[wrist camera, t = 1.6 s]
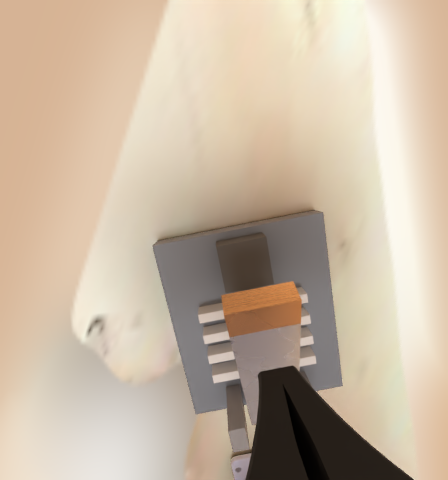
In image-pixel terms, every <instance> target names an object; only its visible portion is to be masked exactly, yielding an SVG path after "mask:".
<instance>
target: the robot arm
mask: <svg viewBox="0 0 448 480" xmlns="http://www.w3.org/2000/svg"><path fill="white" fill-rule="evenodd" d="M258 381H259V401H258V412H257V422H256V429H255V435H254V441H253V447H252V452H251V453H249V454H244V455H239V456H235V457H233V458H232V459H231V467H232V471H233V475H234V480H414V479H412V478H411V477H410V476H409V475H407V474H406V473H405V472H403V471H402V470H401V469H400V468H398V467H397V466H396V465H394V464H393V463H392V462H391V461H389V460H388V459H387V458H386V457H385V456H383V455H382V454H381V453H380V452H379V451H377V450H376V449H375V448H374V447H373V446H371V445H370V444H369V443H368V442H367V441H366V440H365V439H363V438H362V437H361V436H360V435H359V434H358V433H357V432H356V431H355V430H354V429H353V428H351V427H350V426H349V425H348V424H347V423H346V422H345V421H344V420H343V419H342V418H341V417H340V416H339V415H338V414H337V413H336V412H335V411H334V410H333V409H332V408H331V407H330V406H329V405H328V404H327V403H326V402H325V401H324V400H323V399H322V398H321V397H320V396H319V394H318V393H317V392H316V391H315V390H314V389H313V388H312V387H311V385H310V384H309V383H308V382H307V381H306V380H305V378H304V377H303V376H302V375H301V373H300V372H299V371H298V369H297V368H296V367H295V366H293V365H292V366H287V367H282V368H276V369H271V370H266V371H261V372H259V374H258Z"/></svg>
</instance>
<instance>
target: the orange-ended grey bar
mask: <svg viewBox="0 0 448 480" xmlns="http://www.w3.org/2000/svg"><path fill="white" fill-rule="evenodd" d="M221 298H222V305H223V313H224V318H225V322H226V325H227V329H228V333H229V337H230V341H231V345H232V349H233V353H234V357H235V361H236V364H237V368H238V372H239V376H240V380H241V384H242V388H243V392H244V396H245V399H246V403H247V407H248V411H249V415H250V419H251V423H252V425H256V422H257V412H258V401H259V381H258V374H259V372H261V371H266V370H271V369H276V368H282V367H287V366H292V365H293V366H295V367H296V368H297V369H298V371H299V370H300V338H301V307H302V300H301V297H300V295H299V293H298V291H297V288H296V286H295V284H294V282H293V281H291V282H286V283H281V284H276V285H271V286H266V287H260V288H255V289H250V290H245V291H240V292H235V293H230V294H225V295H221Z"/></svg>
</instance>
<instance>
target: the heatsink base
mask: <svg viewBox="0 0 448 480" xmlns="http://www.w3.org/2000/svg"><path fill="white" fill-rule="evenodd" d="M153 250H154V254H155V258H156V262H157V266H158V270H159V273H160V277H161V281H162V285H163V289H164V293H165V297H166V301H167V304H168V308H169V312H170V316H171V320H172V324H173V328H174V332H175V335H176V339H177V343H178V347H179V351H180V355H181V359H182V363H183V366H184V370H185V374H186V378H187V382H188V386H189V389H190V393H191V397H192V401H193V405H194V409H195V413H196V414H200V413H205V412H210V411H215V410H221V409H226V408H227V414H228V431H229V436H230V440H231V444H232V449H233V452H238V451H243V450H248V449H249V441H248V434H247V426H246V419H245V411H244V405H246V404H247V403H246V399H245V396H244V392H243V388H242V384H241V380H240V376H239V372H238V368H237V364H236V361H235V357H234V353H233V349H232V345H231V341H230V337H229V333H228V329H227V325H226V322H225V318H224V313H223V305H222V298H221V295H225V294H230V293H235V292H240V291H245V290H250V289H255V288H260V287H266V286H271V285H276V284H281V283H286V282H291V281H293V282H294V284H295V286H296V288H297V291H298V293H299V295H300V297H301V300H302V307H301V338H300V370H299V372H300V373H301V375H302V376H303V377H304V378H305V380H306V381H307V382H308V383H309V384H310V385H311V387H312V388H313V389H314V390H315V391H319V390H324V389H329V388H334V387H339V386H343V385H342V376H341V367H340V358H339V349H338V340H337V332H336V323H335V314H334V305H333V296H332V287H331V278H330V270H329V261H328V252H327V243H326V234H325V225H324V216H323V212H320V211H316V210H312V211H307V212H302V213H297V214H292V215H287V216H282V217H277V218H272V219H267V220H261V221H256V222H251V223H246V224H241V225H236V226H231V227H226V228H221V229H216V230H211V231H206V232H200V233H195V234H190V235H185V236H180V237H175V238H170V239H165V240H160V241H157V242H156V243H155V244H154V245H153Z"/></svg>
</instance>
